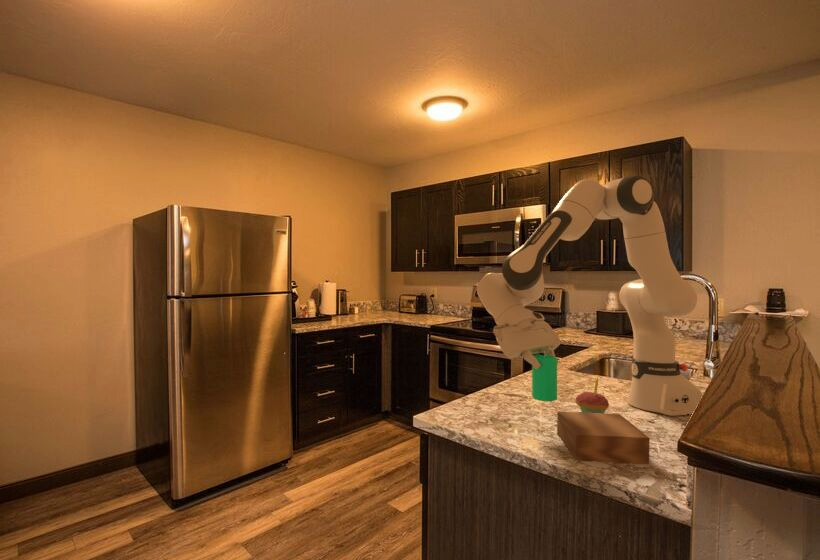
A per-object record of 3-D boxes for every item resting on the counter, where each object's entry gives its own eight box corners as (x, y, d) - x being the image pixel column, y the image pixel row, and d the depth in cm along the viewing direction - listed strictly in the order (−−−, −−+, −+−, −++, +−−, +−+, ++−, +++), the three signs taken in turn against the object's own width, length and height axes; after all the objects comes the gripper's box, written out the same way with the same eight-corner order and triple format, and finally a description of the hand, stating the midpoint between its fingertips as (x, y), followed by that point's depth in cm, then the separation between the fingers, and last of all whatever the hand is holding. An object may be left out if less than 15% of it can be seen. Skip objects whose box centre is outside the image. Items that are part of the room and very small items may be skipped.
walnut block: (619, 438, 102) (619, 414, 102) (648, 466, 87) (649, 437, 87) (557, 435, 103) (557, 411, 103) (575, 462, 88) (576, 434, 88)
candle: (558, 402, 100) (558, 353, 100) (532, 400, 102) (532, 352, 102) (556, 395, 106) (555, 348, 106) (531, 393, 108) (531, 348, 107)
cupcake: (615, 422, 112) (616, 378, 112) (589, 424, 110) (590, 380, 109) (593, 412, 120) (594, 371, 120) (568, 414, 118) (569, 372, 118)
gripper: (497, 318, 103) (529, 364, 95) (545, 313, 115) (577, 353, 108) (483, 334, 106) (514, 379, 99) (531, 327, 119) (562, 367, 111)
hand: (547, 365), depth 103 cm, fingers closed on candle, 5 cm apart
